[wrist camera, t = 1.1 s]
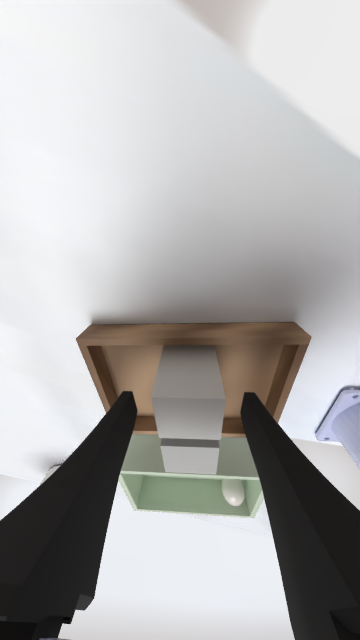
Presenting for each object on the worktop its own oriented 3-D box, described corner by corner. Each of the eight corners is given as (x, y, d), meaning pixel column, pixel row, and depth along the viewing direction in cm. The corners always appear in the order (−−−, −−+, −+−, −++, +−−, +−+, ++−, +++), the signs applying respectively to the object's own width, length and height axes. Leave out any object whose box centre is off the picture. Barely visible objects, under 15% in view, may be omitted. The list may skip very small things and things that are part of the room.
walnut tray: (294, 322, 12) (311, 336, 11) (263, 418, 18) (271, 438, 16) (90, 324, 14) (75, 338, 12) (121, 414, 19) (114, 433, 17)
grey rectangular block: (213, 342, 13) (225, 398, 9) (211, 378, 15) (220, 440, 11) (163, 343, 13) (150, 397, 9) (167, 378, 15) (158, 437, 11)
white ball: (242, 470, 23) (249, 501, 20) (240, 479, 24) (246, 510, 21) (220, 469, 23) (224, 500, 20) (219, 478, 24) (222, 509, 22)
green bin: (258, 433, 19) (274, 478, 16) (244, 477, 25) (253, 518, 21) (126, 429, 21) (113, 470, 17) (141, 472, 26) (134, 510, 23)
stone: (211, 386, 15) (219, 448, 11) (209, 412, 17) (216, 474, 13) (168, 385, 16) (160, 445, 11) (171, 412, 18) (165, 472, 13)
